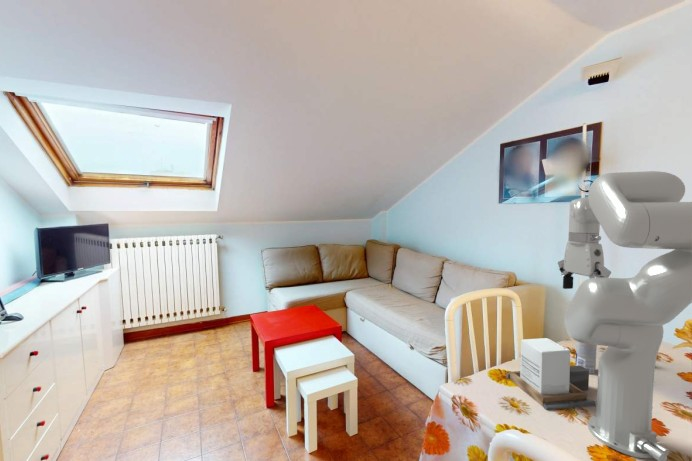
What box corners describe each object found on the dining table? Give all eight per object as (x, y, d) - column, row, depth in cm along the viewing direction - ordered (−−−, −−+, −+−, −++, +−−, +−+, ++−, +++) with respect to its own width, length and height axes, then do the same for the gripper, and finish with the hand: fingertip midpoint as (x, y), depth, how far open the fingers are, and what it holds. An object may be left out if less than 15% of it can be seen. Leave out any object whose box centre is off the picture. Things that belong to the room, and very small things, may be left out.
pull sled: (605, 400, 85) (606, 380, 85) (542, 406, 83) (543, 385, 83) (564, 375, 99) (565, 357, 98) (509, 379, 96) (510, 361, 96)
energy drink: (588, 366, 105) (589, 332, 104) (599, 374, 100) (601, 339, 99) (571, 365, 106) (573, 332, 105) (582, 373, 100) (583, 338, 100)
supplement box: (545, 383, 94) (547, 337, 94) (569, 401, 86) (571, 350, 85) (518, 385, 93) (520, 338, 92) (540, 403, 84) (542, 351, 84)
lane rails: (595, 406, 83) (595, 401, 83) (546, 410, 81) (546, 405, 81) (548, 374, 100) (548, 370, 100) (506, 377, 98) (506, 373, 98)
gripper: (622, 240, 86) (619, 299, 87) (570, 236, 103) (568, 285, 104) (599, 241, 85) (596, 300, 86) (550, 236, 102) (548, 286, 103)
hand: (580, 292), depth 95 cm, fingers open, 9 cm apart
